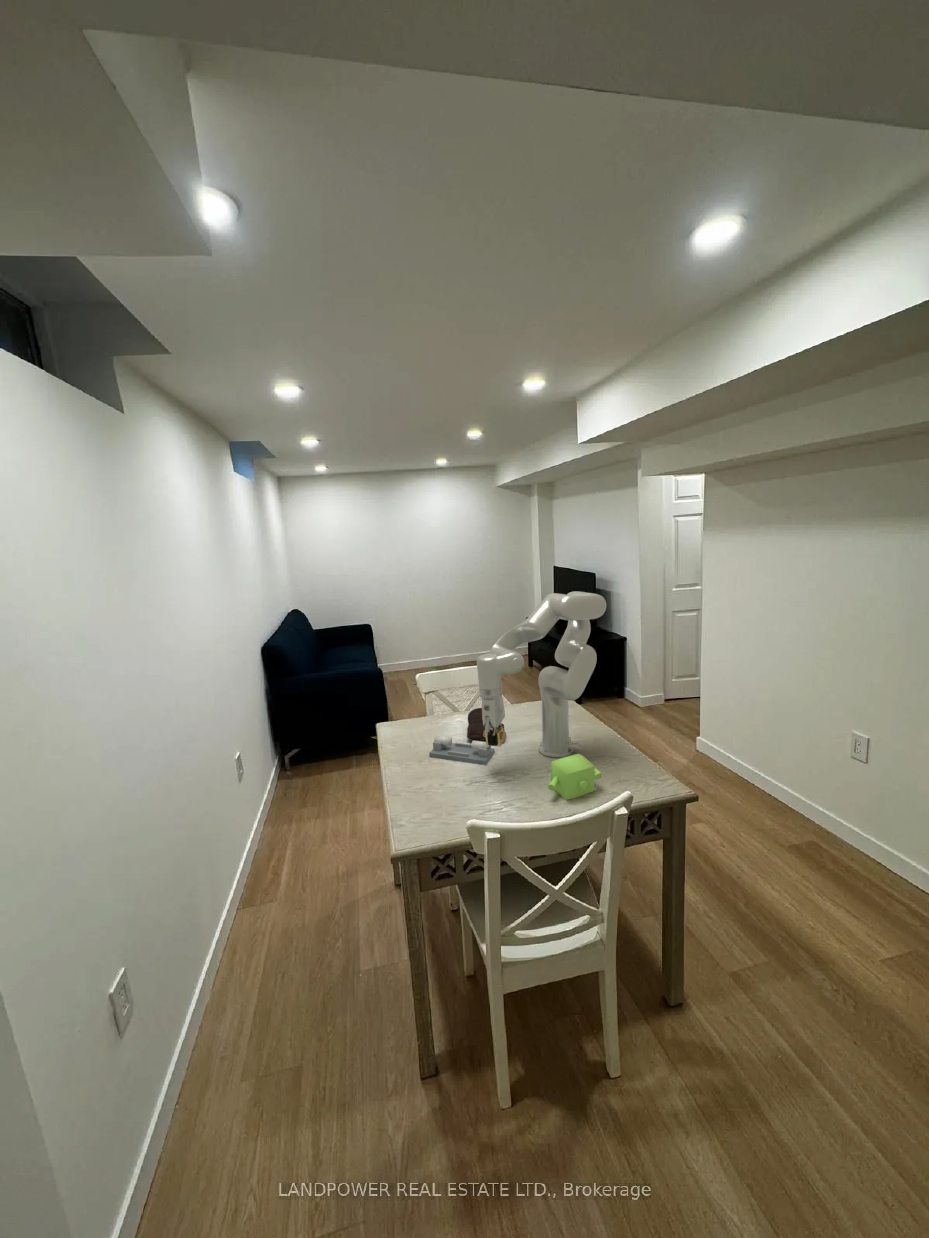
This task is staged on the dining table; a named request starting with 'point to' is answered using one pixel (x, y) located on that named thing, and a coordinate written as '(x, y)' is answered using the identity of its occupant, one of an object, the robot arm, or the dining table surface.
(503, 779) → the dining table surface
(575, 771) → the gearbox
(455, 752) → the grey fixture base
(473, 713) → the dark brown l-shaped piece
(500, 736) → the coupler
